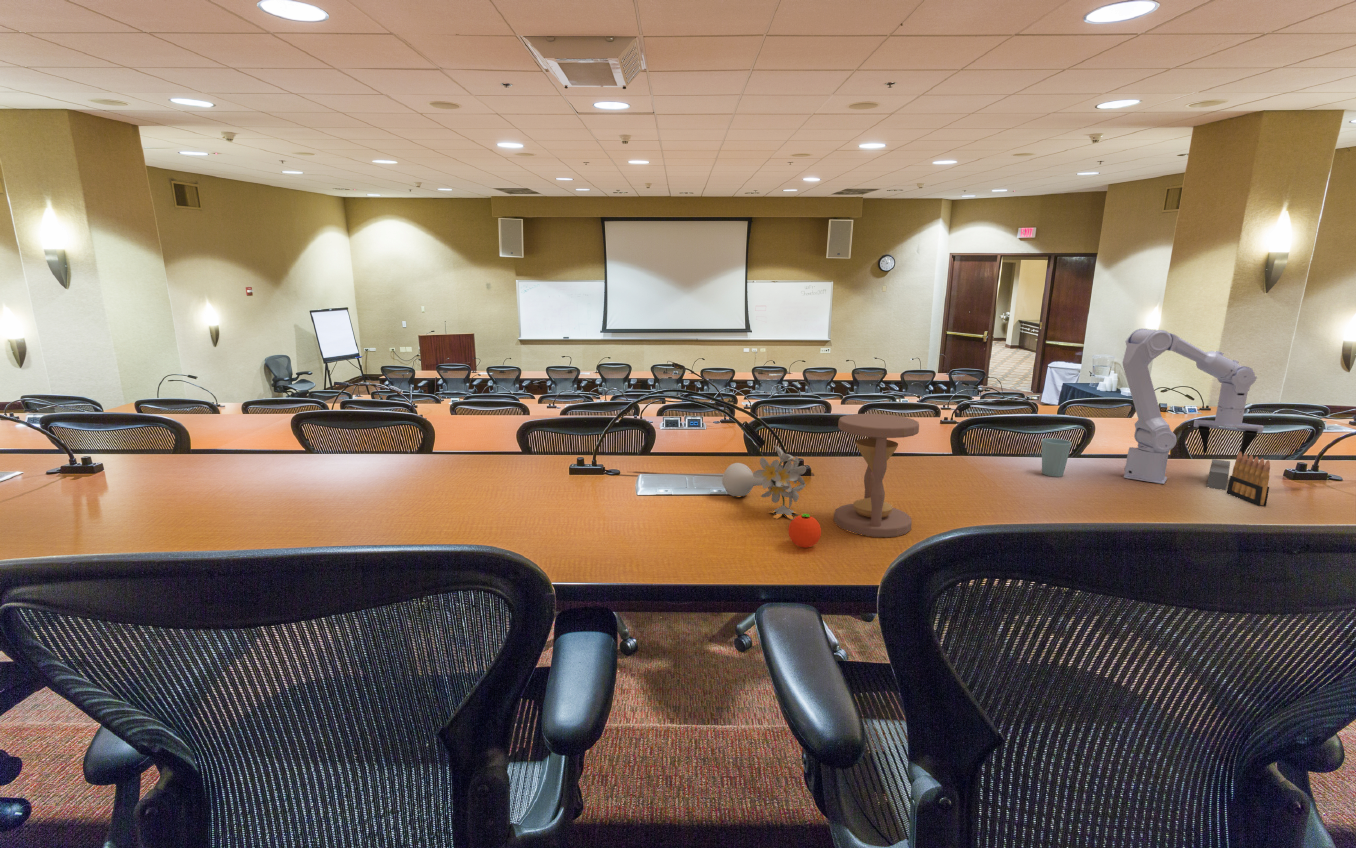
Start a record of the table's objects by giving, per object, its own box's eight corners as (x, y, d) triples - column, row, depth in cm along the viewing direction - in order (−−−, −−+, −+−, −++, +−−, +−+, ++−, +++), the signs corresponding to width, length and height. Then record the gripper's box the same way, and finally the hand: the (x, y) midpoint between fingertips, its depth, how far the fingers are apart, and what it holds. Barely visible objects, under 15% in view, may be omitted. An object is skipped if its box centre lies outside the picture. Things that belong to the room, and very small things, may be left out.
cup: (1056, 470, 186) (1060, 437, 184) (1073, 477, 178) (1077, 443, 176) (1032, 471, 186) (1036, 438, 183) (1048, 478, 178) (1052, 444, 176)
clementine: (790, 537, 134) (791, 506, 133) (821, 540, 132) (823, 509, 131) (785, 550, 127) (787, 519, 125) (819, 554, 125) (820, 522, 123)
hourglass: (839, 507, 153) (844, 411, 148) (912, 516, 147) (920, 416, 142) (828, 531, 137) (833, 424, 132) (909, 542, 131) (918, 430, 126)
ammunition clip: (1266, 506, 153) (1275, 460, 151) (1258, 506, 153) (1267, 460, 151) (1233, 493, 163) (1241, 450, 161) (1226, 493, 164) (1234, 450, 161)
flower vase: (724, 522, 162) (787, 527, 141) (704, 458, 161) (764, 452, 139) (759, 505, 169) (824, 506, 148) (740, 442, 168) (803, 435, 146)
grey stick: (1206, 488, 169) (1209, 471, 168) (1209, 475, 182) (1212, 459, 181) (1225, 491, 166) (1228, 473, 165) (1227, 477, 179) (1230, 461, 178)
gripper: (1197, 406, 171) (1189, 453, 174) (1268, 412, 162) (1258, 461, 165) (1196, 403, 176) (1189, 448, 179) (1265, 408, 167) (1256, 456, 170)
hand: (1222, 454), depth 172 cm, fingers open, 7 cm apart
